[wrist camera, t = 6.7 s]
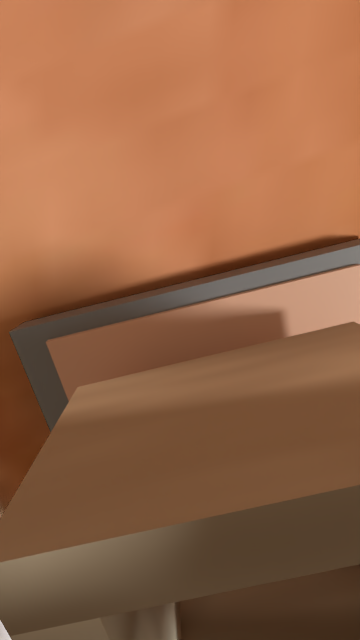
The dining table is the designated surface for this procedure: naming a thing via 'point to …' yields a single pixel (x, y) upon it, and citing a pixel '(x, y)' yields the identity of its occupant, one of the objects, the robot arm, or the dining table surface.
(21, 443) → the dining table surface
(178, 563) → the beige square hollow block
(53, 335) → the stand board
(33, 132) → the dining table surface
